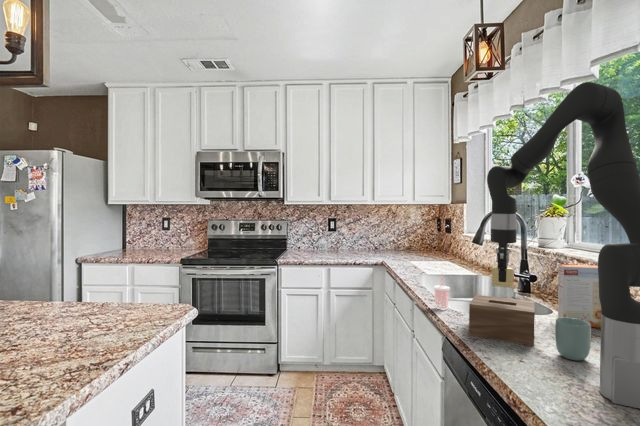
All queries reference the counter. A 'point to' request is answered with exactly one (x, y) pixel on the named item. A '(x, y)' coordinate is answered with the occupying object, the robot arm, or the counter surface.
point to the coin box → (502, 319)
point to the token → (508, 278)
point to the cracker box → (579, 293)
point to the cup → (573, 338)
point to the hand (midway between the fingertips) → (502, 280)
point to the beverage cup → (441, 295)
